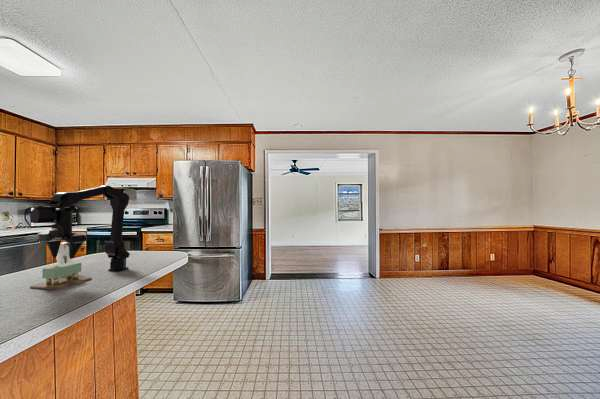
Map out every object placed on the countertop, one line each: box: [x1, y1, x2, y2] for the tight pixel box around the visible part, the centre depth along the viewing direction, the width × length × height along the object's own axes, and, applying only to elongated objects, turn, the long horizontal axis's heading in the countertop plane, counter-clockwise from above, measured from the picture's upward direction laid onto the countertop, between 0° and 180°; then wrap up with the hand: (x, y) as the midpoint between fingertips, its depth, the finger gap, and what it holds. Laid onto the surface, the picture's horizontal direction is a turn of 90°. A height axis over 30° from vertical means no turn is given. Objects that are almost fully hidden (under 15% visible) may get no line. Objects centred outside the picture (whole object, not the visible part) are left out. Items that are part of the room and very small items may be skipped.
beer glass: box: [55, 241, 74, 265], centre depth 135 cm, size 7×7×15 cm
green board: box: [41, 261, 82, 280], centre depth 119 cm, size 12×6×4 cm, turn 172°
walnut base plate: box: [29, 272, 93, 292], centre depth 119 cm, size 16×12×4 cm
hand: (63, 258), depth 119 cm, fingers open, 9 cm apart
